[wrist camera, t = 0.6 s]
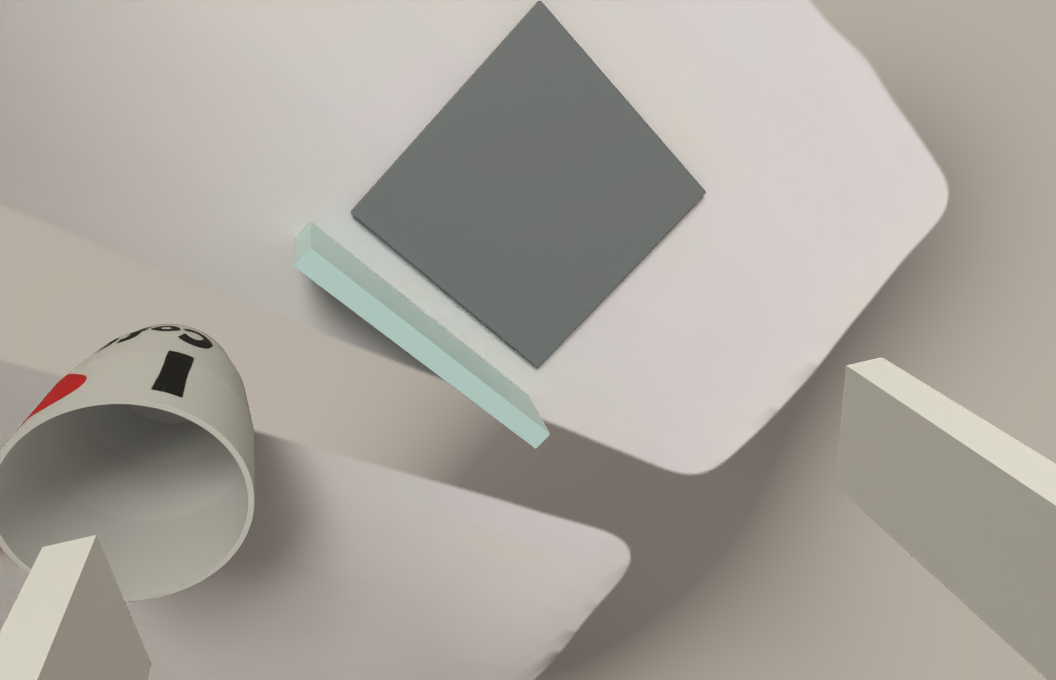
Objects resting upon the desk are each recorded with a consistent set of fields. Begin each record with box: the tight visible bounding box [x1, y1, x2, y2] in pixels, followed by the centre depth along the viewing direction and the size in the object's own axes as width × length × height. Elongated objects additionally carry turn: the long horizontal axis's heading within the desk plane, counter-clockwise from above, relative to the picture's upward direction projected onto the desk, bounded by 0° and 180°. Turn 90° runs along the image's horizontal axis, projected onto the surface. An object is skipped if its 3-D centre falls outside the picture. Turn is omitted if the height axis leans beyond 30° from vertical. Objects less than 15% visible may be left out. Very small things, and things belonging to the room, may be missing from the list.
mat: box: [351, 1, 706, 368], centre depth 35 cm, size 12×12×1 cm
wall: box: [294, 222, 550, 449], centre depth 34 cm, size 14×1×4 cm, turn 44°
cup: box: [0, 324, 255, 601], centre depth 30 cm, size 8×8×10 cm
